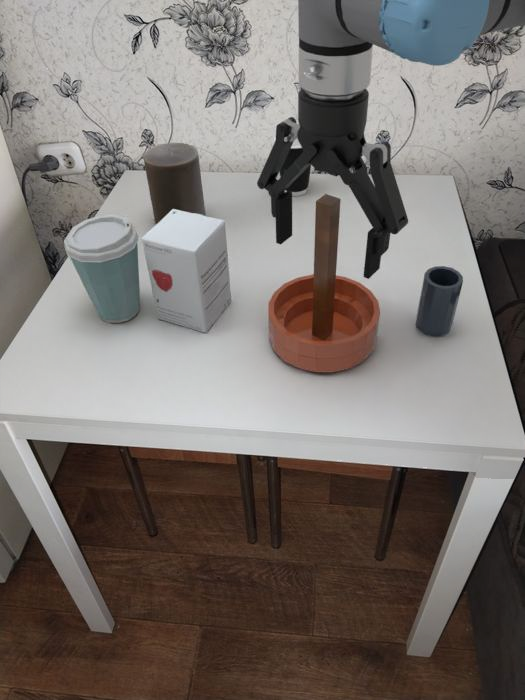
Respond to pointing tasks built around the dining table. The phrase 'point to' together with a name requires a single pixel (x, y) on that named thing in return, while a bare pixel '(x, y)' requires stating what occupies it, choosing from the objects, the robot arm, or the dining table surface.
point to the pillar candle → (174, 179)
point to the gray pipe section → (438, 300)
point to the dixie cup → (302, 181)
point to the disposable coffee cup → (107, 264)
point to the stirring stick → (325, 264)
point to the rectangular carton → (188, 269)
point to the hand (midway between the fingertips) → (326, 255)
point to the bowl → (348, 325)
